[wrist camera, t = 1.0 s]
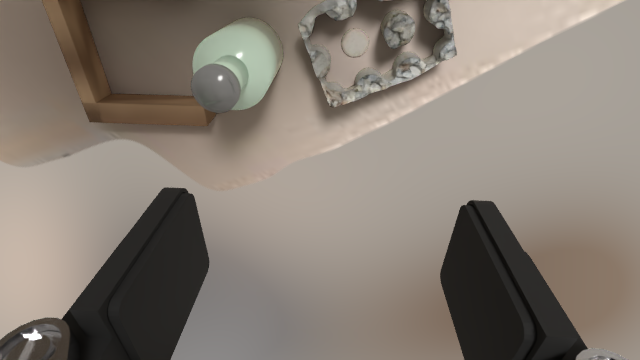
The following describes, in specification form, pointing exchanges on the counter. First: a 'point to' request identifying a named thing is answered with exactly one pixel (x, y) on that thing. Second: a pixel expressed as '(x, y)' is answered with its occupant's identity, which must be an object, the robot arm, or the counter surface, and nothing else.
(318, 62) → the egg carton
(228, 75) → the bottle
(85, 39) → the rest
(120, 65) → the counter surface
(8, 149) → the counter surface
